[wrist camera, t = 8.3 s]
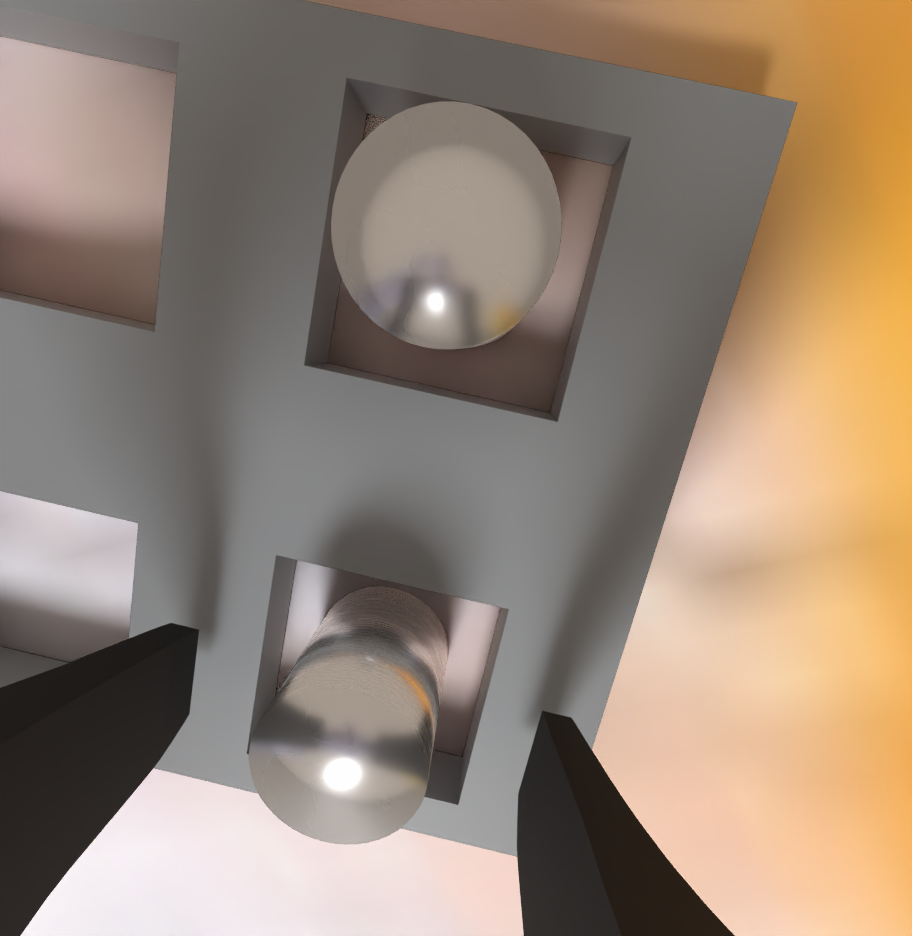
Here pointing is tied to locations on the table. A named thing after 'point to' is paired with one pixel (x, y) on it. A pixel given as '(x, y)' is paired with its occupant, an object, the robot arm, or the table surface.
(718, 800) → the table surface
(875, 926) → the table surface
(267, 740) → the loose pin
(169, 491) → the hole board
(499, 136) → the pin
